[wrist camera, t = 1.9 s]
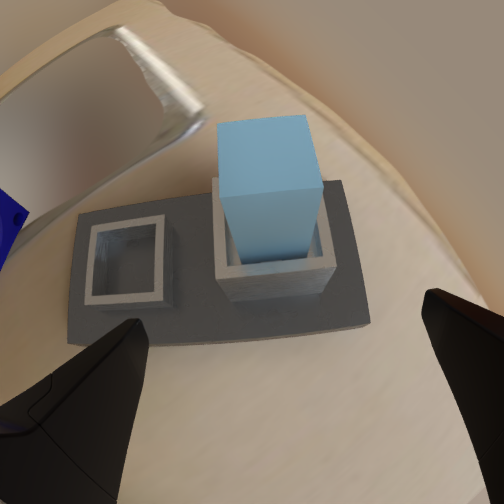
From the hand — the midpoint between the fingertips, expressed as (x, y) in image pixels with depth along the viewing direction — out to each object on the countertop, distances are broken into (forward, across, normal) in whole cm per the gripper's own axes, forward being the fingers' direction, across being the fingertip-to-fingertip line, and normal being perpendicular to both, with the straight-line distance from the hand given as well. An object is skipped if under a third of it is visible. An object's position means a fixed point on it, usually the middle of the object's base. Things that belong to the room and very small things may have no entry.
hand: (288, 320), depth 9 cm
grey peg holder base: (+13, +5, +5) cm, 15 cm away
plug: (+9, 0, +1) cm, 9 cm away
